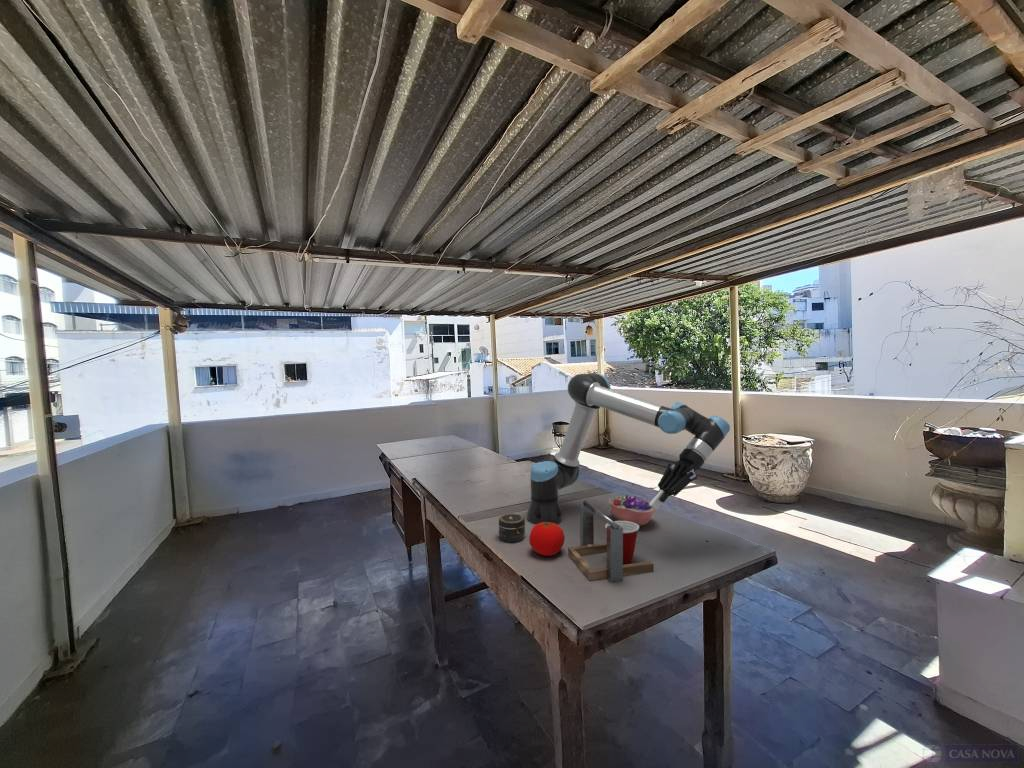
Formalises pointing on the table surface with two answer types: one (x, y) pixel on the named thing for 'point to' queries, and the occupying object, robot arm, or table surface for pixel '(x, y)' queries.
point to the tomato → (546, 538)
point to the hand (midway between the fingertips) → (652, 507)
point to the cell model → (631, 509)
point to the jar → (511, 527)
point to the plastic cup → (628, 539)
